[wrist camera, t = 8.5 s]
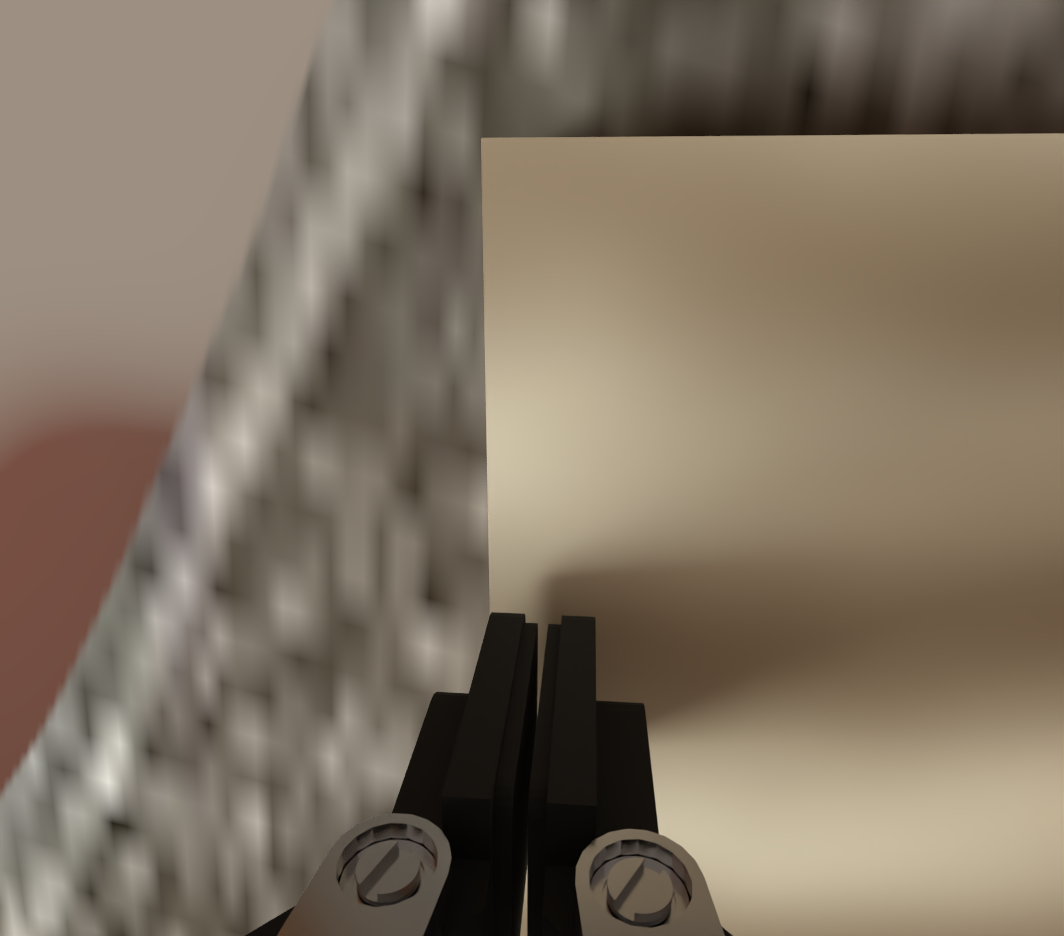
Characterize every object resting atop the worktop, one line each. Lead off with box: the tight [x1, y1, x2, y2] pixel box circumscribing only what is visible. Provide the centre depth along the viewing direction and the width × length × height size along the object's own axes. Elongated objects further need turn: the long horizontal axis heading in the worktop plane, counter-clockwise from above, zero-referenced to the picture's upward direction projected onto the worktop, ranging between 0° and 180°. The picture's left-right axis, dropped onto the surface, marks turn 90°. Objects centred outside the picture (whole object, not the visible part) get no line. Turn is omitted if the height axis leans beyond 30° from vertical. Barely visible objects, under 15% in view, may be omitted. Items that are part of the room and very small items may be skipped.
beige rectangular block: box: [481, 133, 1064, 936], centre depth 14 cm, size 16×11×4 cm
